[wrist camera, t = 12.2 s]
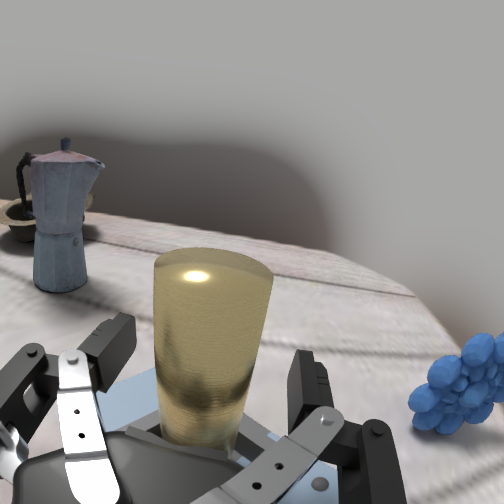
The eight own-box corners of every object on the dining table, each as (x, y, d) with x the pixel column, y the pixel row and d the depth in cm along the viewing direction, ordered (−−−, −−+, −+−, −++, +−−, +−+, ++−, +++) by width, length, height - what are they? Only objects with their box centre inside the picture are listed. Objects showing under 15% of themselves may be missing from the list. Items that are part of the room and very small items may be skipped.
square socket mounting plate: (61, 414, 15) (48, 383, 14) (175, 367, 24) (175, 336, 23) (247, 605, 4) (260, 610, 3) (353, 487, 13) (377, 465, 12)
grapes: (471, 407, 20) (524, 317, 16) (482, 449, 14) (554, 352, 10) (389, 395, 23) (441, 293, 20) (390, 443, 17) (464, 331, 14)
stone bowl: (96, 217, 65) (98, 183, 62) (91, 261, 45) (90, 212, 42) (15, 217, 53) (14, 183, 49) (-19, 260, 33) (-25, 214, 30)
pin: (153, 459, 13) (132, 257, 9) (197, 433, 16) (216, 242, 12) (196, 500, 11) (211, 312, 7) (240, 467, 14) (295, 277, 10)
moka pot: (94, 302, 31) (96, 136, 25) (5, 287, 27) (-3, 141, 21) (111, 271, 40) (118, 139, 33) (32, 262, 36) (32, 140, 30)
